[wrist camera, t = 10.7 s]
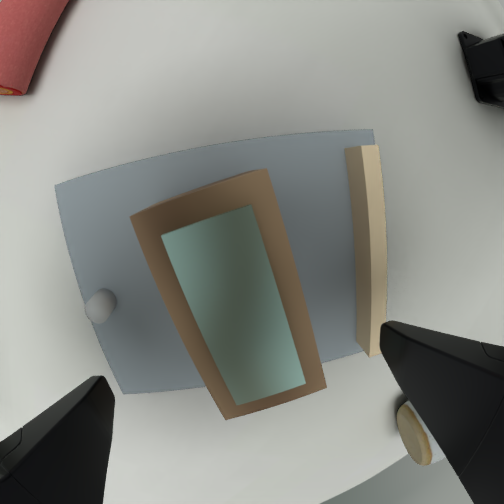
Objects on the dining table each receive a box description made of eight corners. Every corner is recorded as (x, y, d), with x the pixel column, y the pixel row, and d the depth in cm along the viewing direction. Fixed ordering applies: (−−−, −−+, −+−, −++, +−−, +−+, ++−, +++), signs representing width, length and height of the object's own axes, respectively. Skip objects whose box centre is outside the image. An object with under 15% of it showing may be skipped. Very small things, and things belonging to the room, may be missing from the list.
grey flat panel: (363, 131, 16) (391, 125, 13) (373, 337, 20) (395, 360, 17) (63, 184, 15) (35, 187, 11) (126, 383, 18) (116, 413, 15)
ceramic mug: (389, 393, 22) (431, 453, 14) (458, 349, 22) (508, 393, 14) (393, 446, 25) (422, 494, 17) (451, 410, 25) (485, 449, 18)
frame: (250, 170, 15) (268, 168, 10) (300, 336, 17) (328, 391, 12) (156, 203, 14) (127, 217, 9) (221, 361, 17) (225, 423, 12)
